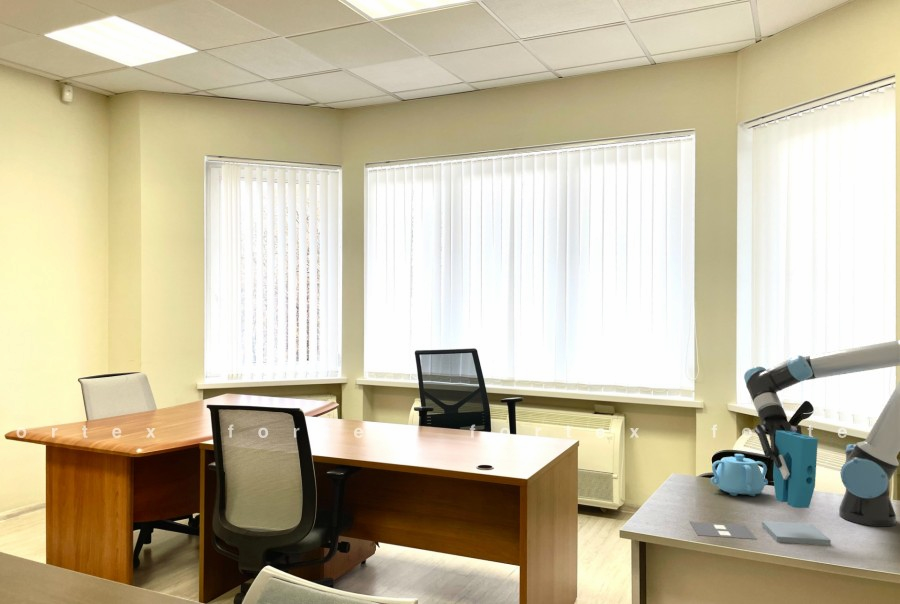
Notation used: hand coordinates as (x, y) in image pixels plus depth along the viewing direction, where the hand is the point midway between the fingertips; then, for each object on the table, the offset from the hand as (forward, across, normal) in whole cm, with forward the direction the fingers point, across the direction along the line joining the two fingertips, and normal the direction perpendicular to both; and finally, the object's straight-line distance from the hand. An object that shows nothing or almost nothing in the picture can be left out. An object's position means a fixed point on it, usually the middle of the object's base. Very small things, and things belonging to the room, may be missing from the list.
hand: (797, 476), depth 191 cm
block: (+5, 0, -7) cm, 9 cm away
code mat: (+9, +20, -16) cm, 27 cm away
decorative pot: (-20, -4, -45) cm, 50 cm away
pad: (+11, 0, -13) cm, 17 cm away
